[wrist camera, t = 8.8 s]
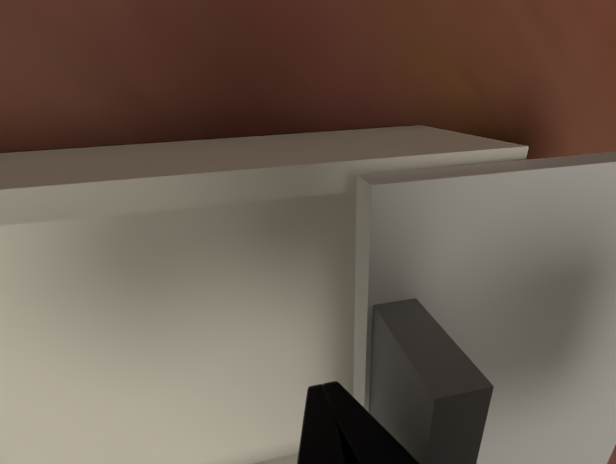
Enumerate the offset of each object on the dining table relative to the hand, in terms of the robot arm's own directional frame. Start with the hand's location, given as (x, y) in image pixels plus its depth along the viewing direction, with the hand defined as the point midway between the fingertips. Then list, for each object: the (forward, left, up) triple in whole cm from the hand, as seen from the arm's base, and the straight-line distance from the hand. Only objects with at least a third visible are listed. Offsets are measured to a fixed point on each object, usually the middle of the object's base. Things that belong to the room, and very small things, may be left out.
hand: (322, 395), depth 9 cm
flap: (-4, -7, -2) cm, 8 cm away
